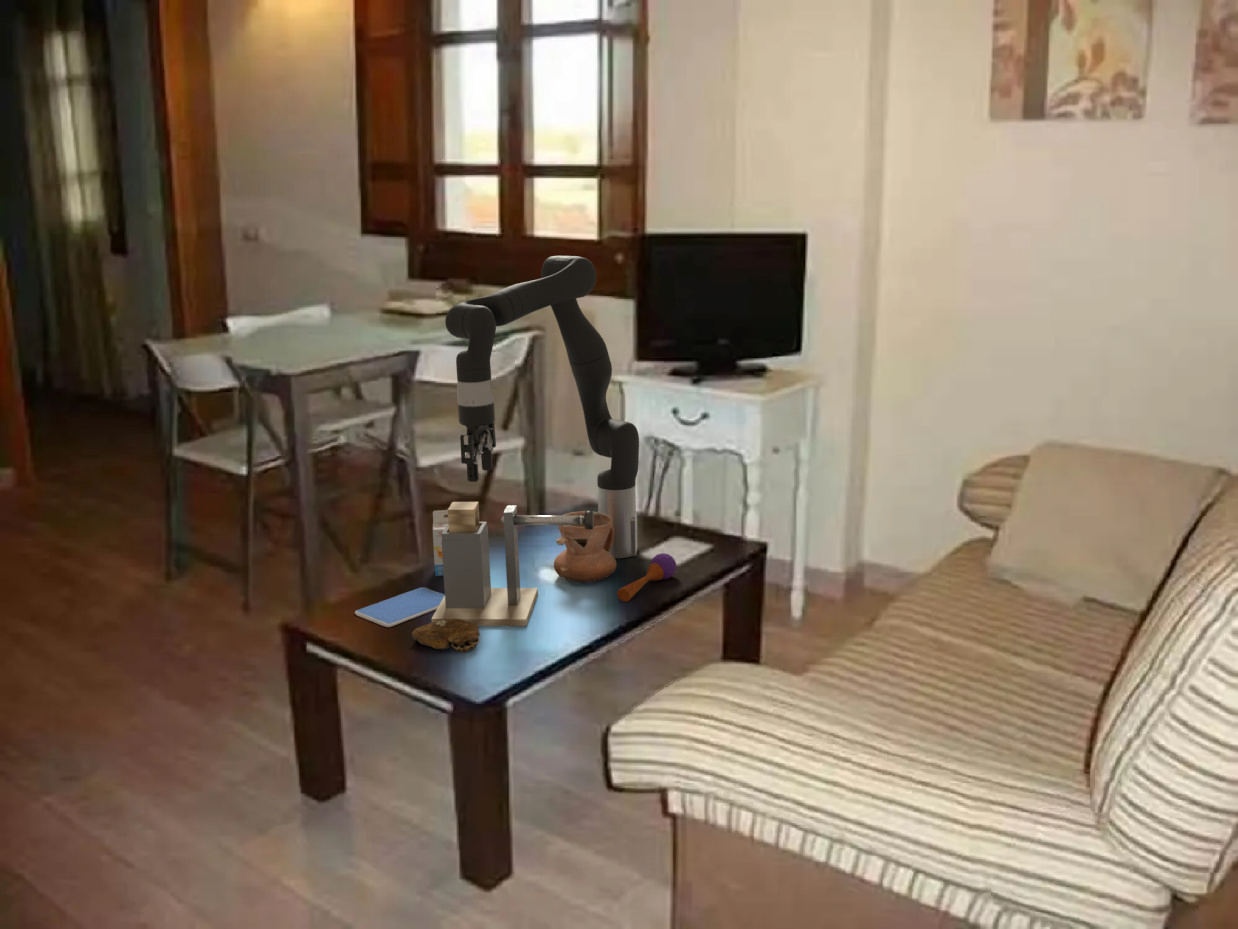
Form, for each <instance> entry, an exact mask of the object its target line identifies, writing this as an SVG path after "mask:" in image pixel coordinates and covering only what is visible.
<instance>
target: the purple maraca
mask: <svg viewBox="0 0 1238 929" xmlns="http://www.w3.org/2000/svg"><path fill="white" fill-rule="evenodd" d="M676 570H677V563H676V561H675V558H674V557H673V556H672V555H670V554H669V553H662V552H661V553H658V554H656V555H655V556H654V557H653V558H652V559H651V562H650V564H649V565H648V568H647V572H646V575H645V576H643V577H641V578H639V579H637V580H635V581H632V582H631V583H629V584H626V585H625V586H623V587H620V588H619V589H618V590H617V593H616V595H617V598H618V599H619V601H620V602H621V601H622V602H626V603H628V602H629V601H630V600H631V599H632V598H634V597H635V595H636V594H637V593H638V592H639V591H640V590H641V589H642V588H643V587H644V586H645V585H646V584H647V583H648V582H649V581H661V580H668V579H670V578H672V576H674V575H675V573H676Z"/></svg>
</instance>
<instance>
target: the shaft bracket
mask: <svg viewBox="0 0 1238 929" xmlns="http://www.w3.org/2000/svg"><path fill="white" fill-rule="evenodd" d="M517 507H518V506H517V504H516V505H515V504H514V505H513V504H512V505H510V504H509V505H507V506H505V508H504V511H503V516H504V524H503V528H504V530H503V532H504V550H505V551H504V553H505V565H506V566H505V571H506V588H507V595H508V606H517V605H518V603H519V600H520V598H521V593H520V588H521V576H520V574H521V573H520V558H519V557H520V553H519V551H520V550H519V531H518V529H519V528H518V525H514V515H518V511H517V510H518V508H517Z"/></svg>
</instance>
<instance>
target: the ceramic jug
mask: <svg viewBox="0 0 1238 929" xmlns="http://www.w3.org/2000/svg"><path fill="white" fill-rule="evenodd" d="M585 511H586V510H582V511H581V510H580V511H572V512H568V513H565V514H563V515H581V516H584V517H585ZM593 513H594V527H593V530H585V524H583V525H557V526H558V531H559V533H560V536H561V537H558V538H557V539H556V541H555V542H556V544H557V545H558V546H563V545H565V547H566V549H564V550H563V551H561V552H559V553H558V555H556V557H555V559H554V561H553V568H554V571H555V572H556V574H557V575H558V576H560V577H561V578H562V579H565V580H568V581H571V582H574V583H575V582H577V583H593V582H598V581H602V580H604V579H606V578H608V577H610V576H611V575H612V574H614V572H615V571H616V570H617V569H616V568H617V560H616V558H614V557H613V556H612V555H611V554H610V553H609V551H610V548H611V545H612V541H613V536H614V530H613V527H612V526H611V523H612V519H611V517H610V516H609V515H606V514H604V513H601V512H598V511H593Z"/></svg>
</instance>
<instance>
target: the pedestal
mask: <svg viewBox="0 0 1238 929" xmlns="http://www.w3.org/2000/svg"><path fill="white" fill-rule="evenodd" d="M479 522H480V528H479V530H478V532H477V533H449V524H448V525H447V526H446V528H445V529H444V531H443V532H442V557H443V573H444V576H443V584H444V585H443V586H444V595H445V604H446V608H480V609H485V606H486V604H487V602H488V600H489V598H490V596H491V588H492V584H491V580H492V578H491V563H490V562H491V561H490V546H489V544H490V543H489V529H488V528H489V527H488V521H479Z"/></svg>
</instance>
